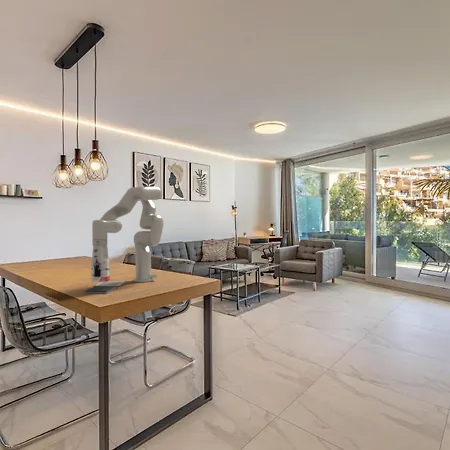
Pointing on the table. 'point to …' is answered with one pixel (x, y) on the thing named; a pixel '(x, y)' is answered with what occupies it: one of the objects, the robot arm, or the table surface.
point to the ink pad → (100, 290)
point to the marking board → (110, 283)
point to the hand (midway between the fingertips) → (100, 275)
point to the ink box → (104, 272)
